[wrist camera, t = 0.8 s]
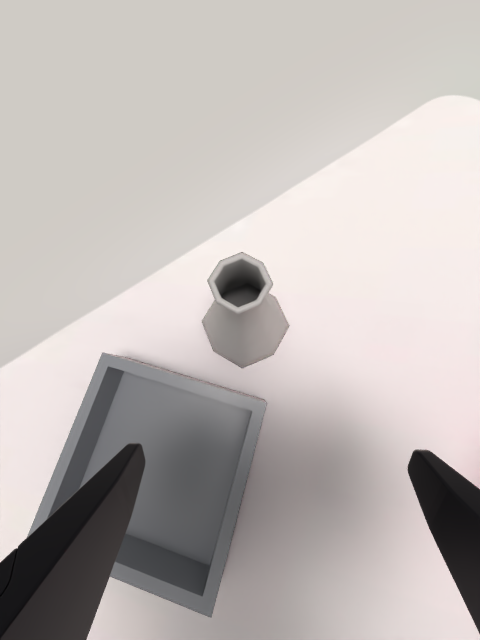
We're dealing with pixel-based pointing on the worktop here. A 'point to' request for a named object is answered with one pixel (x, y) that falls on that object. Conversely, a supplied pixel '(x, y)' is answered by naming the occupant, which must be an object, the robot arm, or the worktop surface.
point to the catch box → (165, 472)
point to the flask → (243, 311)
